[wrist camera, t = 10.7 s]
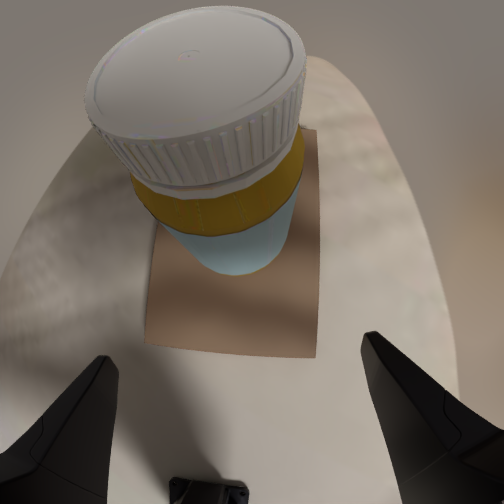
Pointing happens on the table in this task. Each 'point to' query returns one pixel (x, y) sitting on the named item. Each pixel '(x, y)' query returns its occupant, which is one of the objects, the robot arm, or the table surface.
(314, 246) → the brown rectangular board
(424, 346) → the table surface
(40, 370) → the table surface
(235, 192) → the bottle
